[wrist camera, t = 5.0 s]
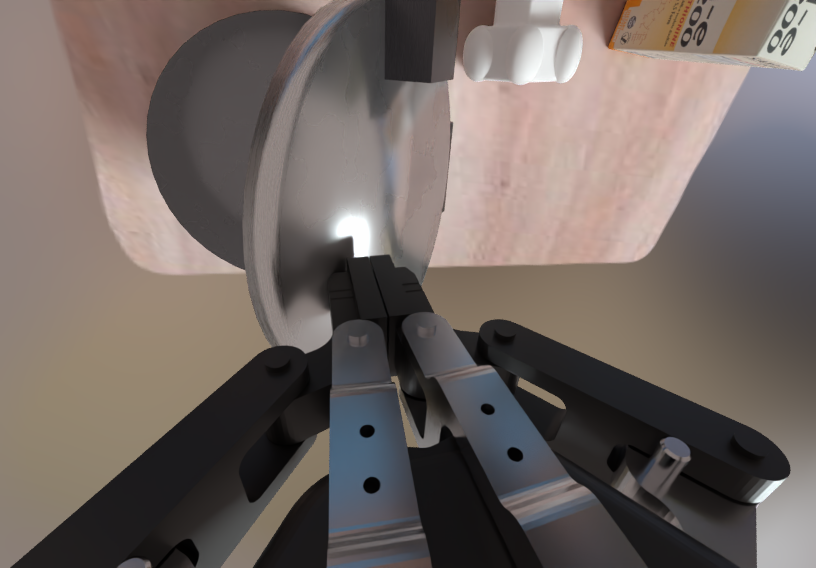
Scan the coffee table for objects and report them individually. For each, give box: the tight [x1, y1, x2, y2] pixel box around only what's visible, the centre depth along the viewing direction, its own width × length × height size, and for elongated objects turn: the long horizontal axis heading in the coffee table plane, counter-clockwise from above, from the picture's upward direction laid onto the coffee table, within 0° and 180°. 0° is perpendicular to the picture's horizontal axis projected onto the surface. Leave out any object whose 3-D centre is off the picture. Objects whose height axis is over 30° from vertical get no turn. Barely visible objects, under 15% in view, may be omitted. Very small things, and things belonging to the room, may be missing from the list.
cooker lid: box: [242, 0, 461, 354], centre depth 15 cm, size 20×15×3 cm
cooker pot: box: [146, 10, 312, 270], centre depth 25 cm, size 15×16×11 cm
